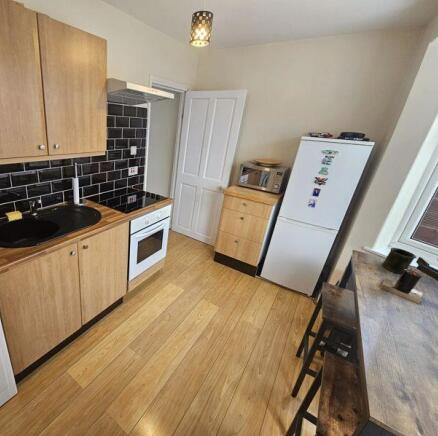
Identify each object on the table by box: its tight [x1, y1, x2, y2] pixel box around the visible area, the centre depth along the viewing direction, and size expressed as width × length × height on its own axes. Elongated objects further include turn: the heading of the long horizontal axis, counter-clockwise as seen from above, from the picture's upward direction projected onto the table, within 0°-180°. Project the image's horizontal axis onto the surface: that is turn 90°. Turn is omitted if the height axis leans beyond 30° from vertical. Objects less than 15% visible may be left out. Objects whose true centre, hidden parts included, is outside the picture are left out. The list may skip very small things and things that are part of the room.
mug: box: [382, 247, 417, 275], centre depth 139 cm, size 11×15×12 cm
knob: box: [395, 268, 423, 293], centre depth 116 cm, size 6×6×10 cm
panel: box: [380, 278, 423, 305], centre depth 119 cm, size 14×10×3 cm
